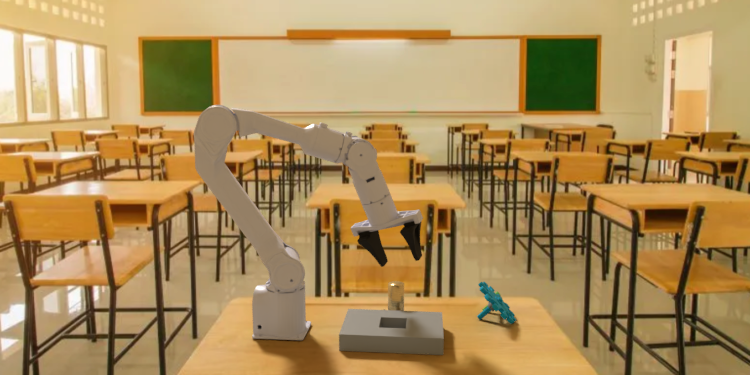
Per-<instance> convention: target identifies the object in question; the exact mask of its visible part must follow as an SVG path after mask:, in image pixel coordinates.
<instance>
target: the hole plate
mask: <svg viewBox="0 0 750 375" xmlns="http://www.w3.org/2000/svg"><path fill="white" fill-rule="evenodd" d="M443 322H444V320H443V311H418V310H417V311H416V310H404V311H395V310H388V309H368V308H367V309H366V308H359V309H358V308H348V309H347V312H346V313H345V317H344V320H343V322H342V324H341V329H340V331H339V332H338V333H339V334H338V350H339V352H340V351H342V352H361V353H362V352H363V353H365V352H367V353H387V354H405V355H406V354H409V355H410V354H411V355H431V356H432V355H433V356H434V355H435V356H444V346H445V345H444V344H445V341H444V340H445V338H444V323H443Z"/></svg>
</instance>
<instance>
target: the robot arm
mask: <svg viewBox="0 0 750 375" xmlns="http://www.w3.org/2000/svg"><path fill="white" fill-rule="evenodd" d="M236 132H238V134H239V137H240V138H242V137H246V136H250V135H253V134H258V135H263V136H266V137H270V138H273V139H276V140H281V141H285V142H289V143H292V144H296V145H298V146H299V147H300V148H301V150H302V153H303V154H304V155H306V156H311V157H314V158H317V159H321V160H324V161H327V162H330V163H334V164H336V165H338V164H341V163H342V164H343V165H344V166H346V167H348V168H347V169H348V172H349V175H350V177H351V180H352V184H353V187H354V189H355V191H356V194H357V197H358V198H359V201H360V204H361V206H362V209H363V211H364V212H365V215H366V217H367V219H366V220H363V221H360V222H355V223H354V224H353V225H352V226H351V227H350V230H351V233H352V236H353V237H355V238H356V237H358V239H357V243H358V245H360V246H361V247H363V248H364V249H365V250H366V251H367V252H368V253H370V255H371V256H372V257H373V258H374V259H375V261H376V262H377V263H378V264H379V266H380V267H385V266H386V265H387V263H388V262H389V261H388V257H387V253H386V252H385V249H384V246H383V244H382V240H381V236H380V231H381V230H386V229H391V228H395V227H401V226H403V227H402V228H401V230H400V231H399V233H400V235H401V236H402V237H403V239H404V241H405V242H406V244H407V246H408V248H409V250H410V252H411V254H412V257H413V259H414V261H415V262H417V261H420V260H421V258H422V257H423V253H422V252H423V251H422V247H421V246H422V245H421V227H422V221H423V219H424V217H423V215H422V211H421V210H420V209H415V210H413V209H412V210H401V211H399V210H397V207H396V205H395V202H394V199H393V196H392V194H391V193H390V189H389V186H388V184H387V182H386V179H385V177H384V174H383V172H382V170H381V168H380V166H379V164H378V161H377V159H378V152H377V149H376V148H375V147H374V145H373V144H372V142H370V141H368V140H367V139H364V138H361V137H359V136H358V135H353V133H352V132H351V131H349V130H348V131H345V132H342V131H339V130H336V129H333V128H329V127H328V124H327V123H324V122H319V124H317V123H311V124H309V125H308V126H305V127H301V126H298V125H297V124H296V125H295V124H292V123H290V122H286V121H283V120H280V119H277V118H275V117H272V116H269V115H266V114H263V113H260V112H257V111H254V110H249V109H243V108H237V107H231V108H229V107H227V106H225V105H222V104H214V105H210V106H208V107H207V108H206V109H204V110H203V111H202V112H201V113H200V114H199V116H198V118H197V122H196V124H195V127H194V131H193V141H194V144H193V145H194V167H195V171H196V173H197V174H198V175H199V177H200V178H201V179H202V181H203V182H204V183H205V184H206V186H207V187H208V189H209V190H210V192H212V194H213V196H214V197H215V198H216V199H217V201H218V203H220V205H221V206H222V207H223V209H224V210H225V211H226V212H227V214H228V215H229V216H230V218H231V219H232V220H233V222H234V223H235V224H236V226H237V227H238V228H239V230H240V231H241V233H242V234H243V235H244V236H245V238H246V239H247V241H248V242H249V243H250V244H251V246H253V248H254V250H255V251H256V253H257V255H258V256H259V258H260V261H261V262H262V263H263V266H265V268H266V270H267V271H268V279H267V281H266V282H265V284H258V285H256V286H255V288H254V290H253V295H252V300H251V301H252V304H251V308H252V309H251V310H252V335H251V337H252V339H255V340H256V339H258V340H260V339H261V340H281V341H282V340H283V341H285V340H286V341H287V340H288V341H303V340H304V339H305V337H306V335H307V333H308V331H309V329H310V327H311V325H312V322H311V321H310V320H306V319H307V318H306V314H307V313H306V282H305V277H306V271H305V267H304V264H303V263H302V262H301V257H300V254H299V252H298V251H297V250H296V248H294V247H293V246H291V245H289V244H287V243H286V242H284V240H283V239H282V237H281V236H280V235H279V234H278V233H277V232H276V231H275V230H274V228H273V227H272V226H271V225H270V223H269V222H268V220H267V219H266V217H265V216H264V215H263V213H262V212H261V210H260V209H259V208H258V207H257V205H256V204H255V202H254V201H253V200H252V199H251V197H250V196H249V194H248V193H247V191H246V190H245V189H244V187H242V184H240V182H239V180H238V179H237V178H236V177H235V175H234V174H233V173H232V171H231V170H230V169H229V167H228V165H227V164H226V162H225V161H226V156H227V154H228V153H227V152H228V147H229V145H230V143H231V142H232V140H233V138H234V136H235V134H236Z"/></svg>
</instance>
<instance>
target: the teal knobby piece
mask: <svg viewBox="0 0 750 375" xmlns="http://www.w3.org/2000/svg"><path fill="white" fill-rule="evenodd" d="M478 287H479V291H480V292H481V293H482V294H483V297H484V299H485V300H486V302H488V303H487V305H485V306H484V307H483V308H481V309H482V311H481V312H479V314H478V315H476V317H477V319H478V320H479V321H482V319H483V318H485V317H486V316H487V315H488V314H489V313H491V312H494V311H495V312H497V311H498V312H499V313H500V314H499V315H500V317H501V318H502V319H503V320H504V321H505V320H506V321H507V322H508V323H509V325H512V324H514V323H515V322H517V318H516V317H515V313H514V311H512V310H510V309H511V306H510V305H509V304H508V303H507V302H505V301H504V300H503V297H502V296H501V295H502V294H501V293H500V292H499V291H497V290H495V289H494V287H492V286H491V285H490V286H489V285H488V283H487V282H486V281H481V282H479V283H478ZM495 291H496V292H495Z"/></svg>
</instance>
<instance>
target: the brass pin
mask: <svg viewBox="0 0 750 375" xmlns="http://www.w3.org/2000/svg"><path fill="white" fill-rule="evenodd" d="M387 310H395V311H405V282H403V281H398V280H392V281H389V282H388V283H387Z"/></svg>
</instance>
